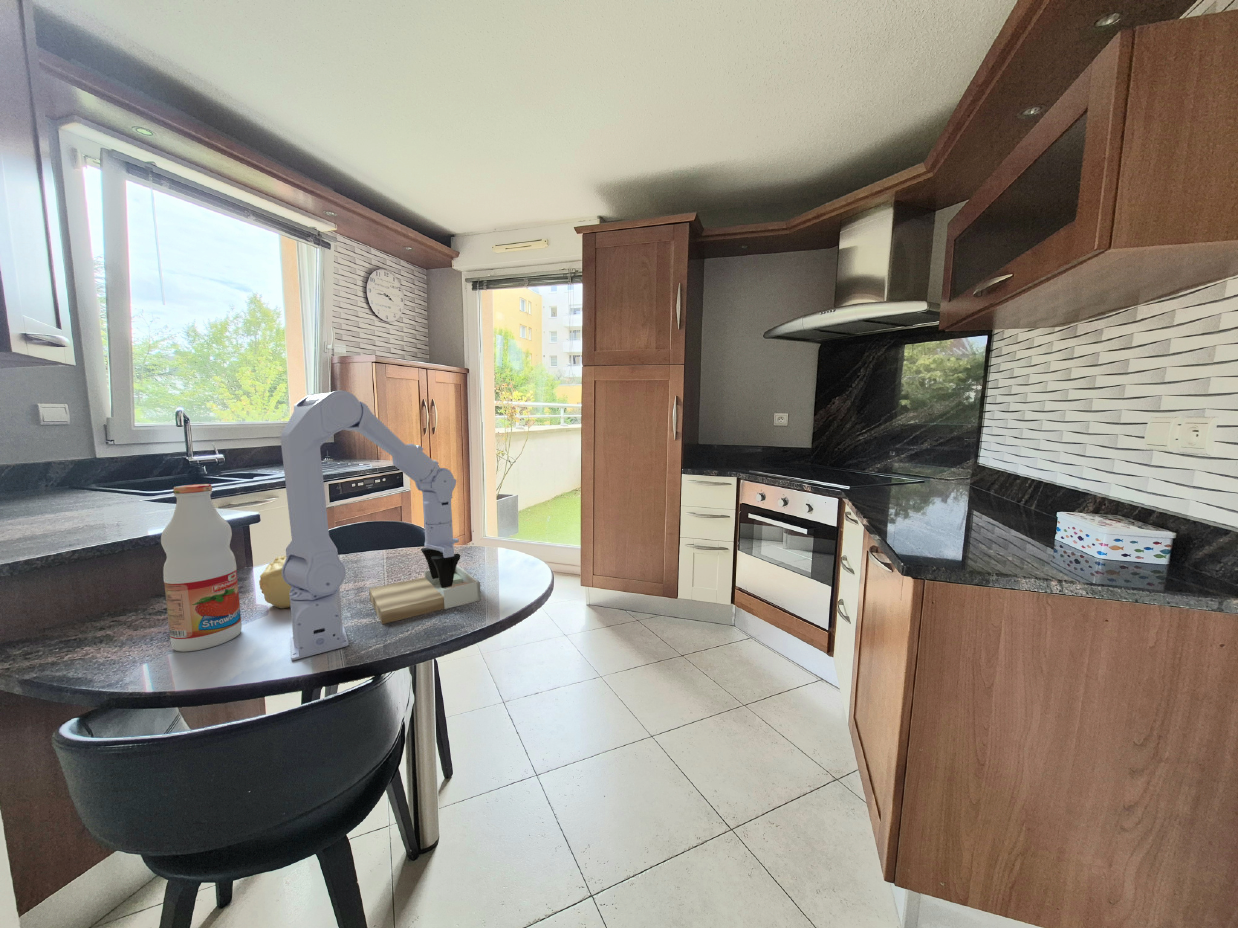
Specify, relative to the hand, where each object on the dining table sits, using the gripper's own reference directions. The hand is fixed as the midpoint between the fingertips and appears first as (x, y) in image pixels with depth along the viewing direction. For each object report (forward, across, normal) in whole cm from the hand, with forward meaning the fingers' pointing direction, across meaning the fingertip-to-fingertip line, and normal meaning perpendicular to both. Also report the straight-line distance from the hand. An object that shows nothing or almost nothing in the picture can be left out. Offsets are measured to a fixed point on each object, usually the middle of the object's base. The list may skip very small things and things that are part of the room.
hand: (441, 582), depth 99 cm
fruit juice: (+3, +5, +39) cm, 40 cm away
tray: (+3, 0, -2) cm, 4 cm away
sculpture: (+3, +17, +26) cm, 31 cm away
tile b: (+1, +4, -3) cm, 5 cm away
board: (+3, 0, +8) cm, 8 cm away
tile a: (+1, -4, -3) cm, 5 cm away
